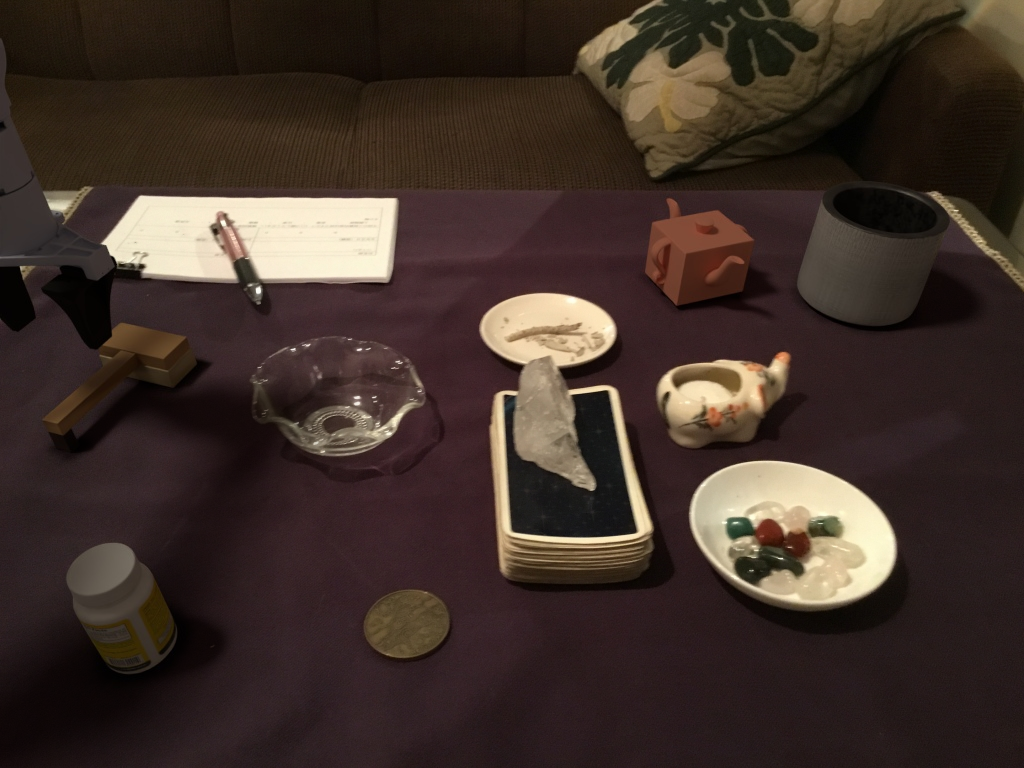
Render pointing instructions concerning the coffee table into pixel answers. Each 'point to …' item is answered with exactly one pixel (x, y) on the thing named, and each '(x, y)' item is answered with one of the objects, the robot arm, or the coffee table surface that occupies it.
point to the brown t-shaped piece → (122, 374)
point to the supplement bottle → (121, 608)
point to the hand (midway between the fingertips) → (62, 333)
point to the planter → (871, 252)
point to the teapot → (698, 255)
